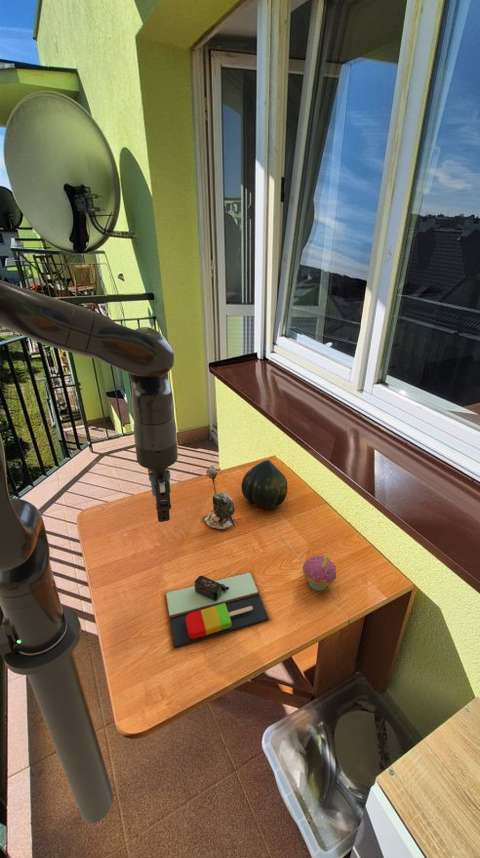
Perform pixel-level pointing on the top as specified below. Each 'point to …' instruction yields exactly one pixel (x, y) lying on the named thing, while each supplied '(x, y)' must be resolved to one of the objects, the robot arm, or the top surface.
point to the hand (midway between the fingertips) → (161, 507)
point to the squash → (264, 485)
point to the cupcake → (319, 572)
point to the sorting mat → (235, 598)
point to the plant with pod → (220, 507)
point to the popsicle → (211, 620)
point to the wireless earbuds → (209, 588)
